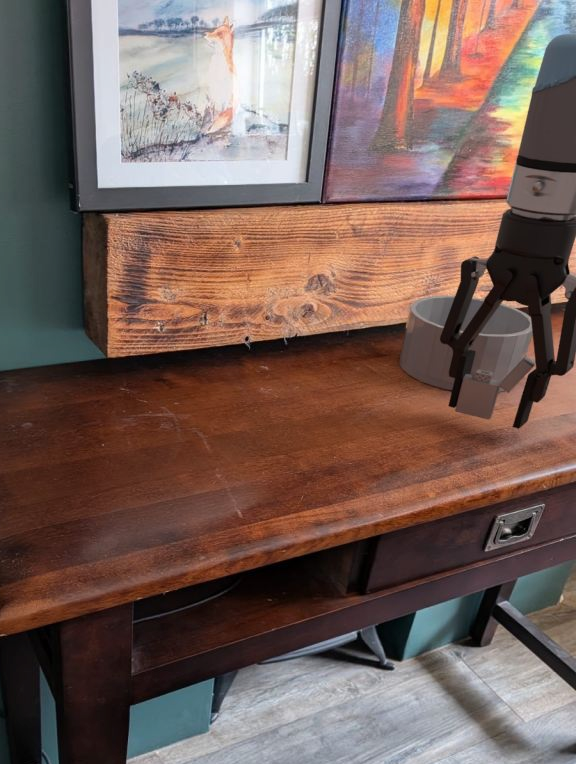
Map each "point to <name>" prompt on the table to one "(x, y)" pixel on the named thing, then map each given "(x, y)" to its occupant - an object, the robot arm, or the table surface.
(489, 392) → the lighter
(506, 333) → the canister
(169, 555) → the table surface
